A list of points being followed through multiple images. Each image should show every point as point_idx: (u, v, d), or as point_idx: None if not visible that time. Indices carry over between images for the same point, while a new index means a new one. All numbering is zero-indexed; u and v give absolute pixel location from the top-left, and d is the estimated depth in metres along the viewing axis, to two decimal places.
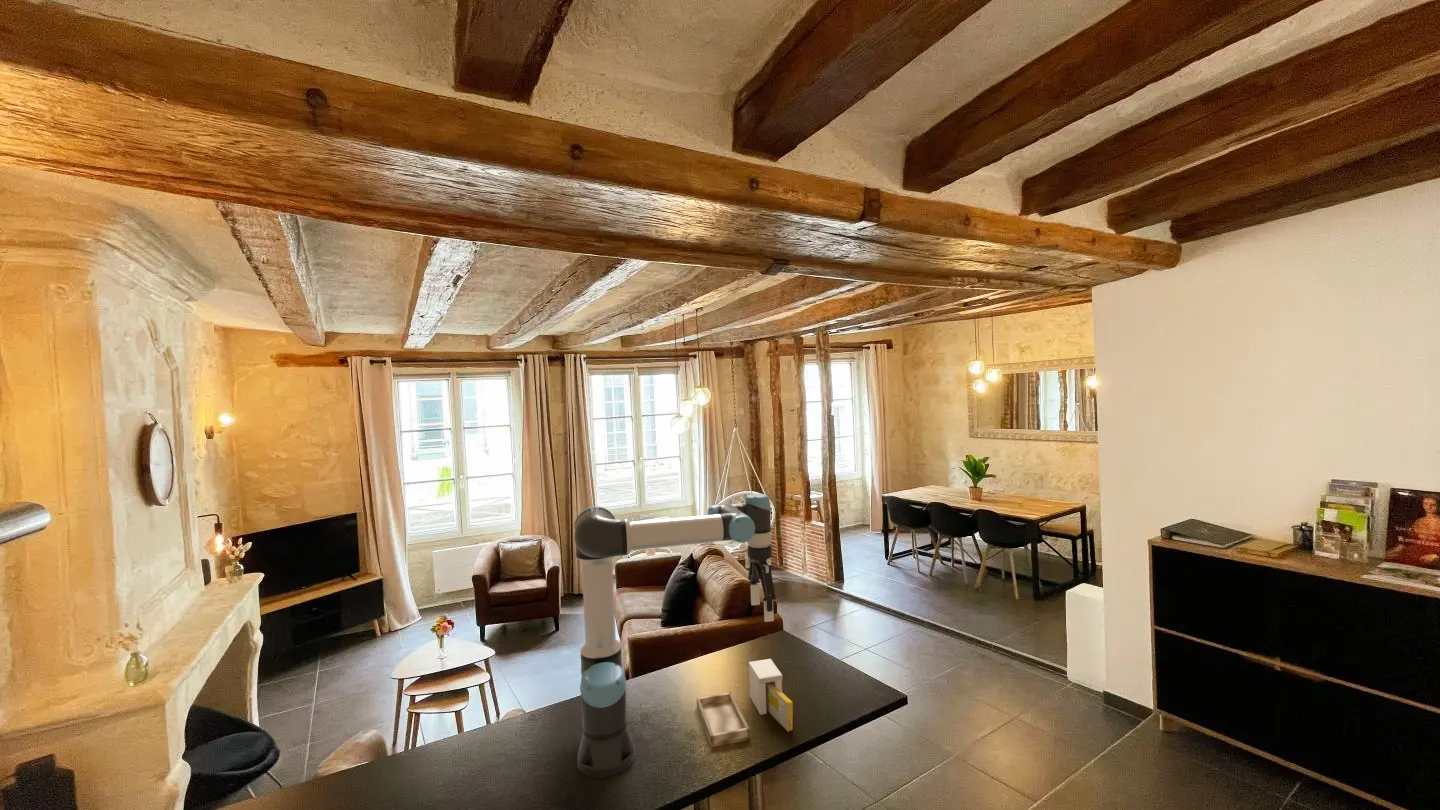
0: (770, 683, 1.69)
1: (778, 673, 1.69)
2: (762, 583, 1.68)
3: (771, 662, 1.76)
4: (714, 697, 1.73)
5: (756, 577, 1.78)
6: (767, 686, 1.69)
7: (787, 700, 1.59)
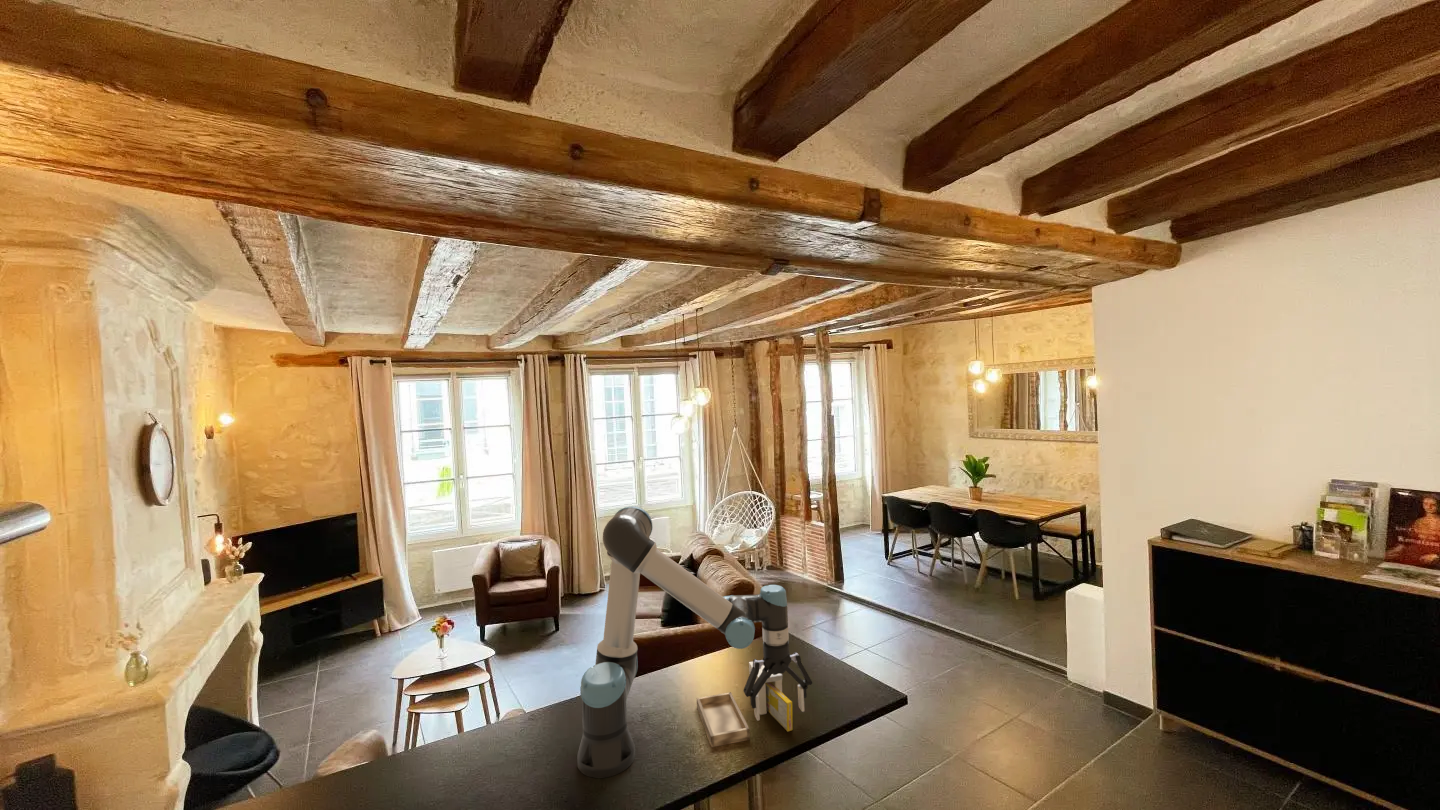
0: (770, 683, 1.69)
1: None
2: None
3: None
4: (714, 697, 1.73)
5: (794, 678, 1.62)
6: (767, 686, 1.69)
7: (787, 700, 1.59)
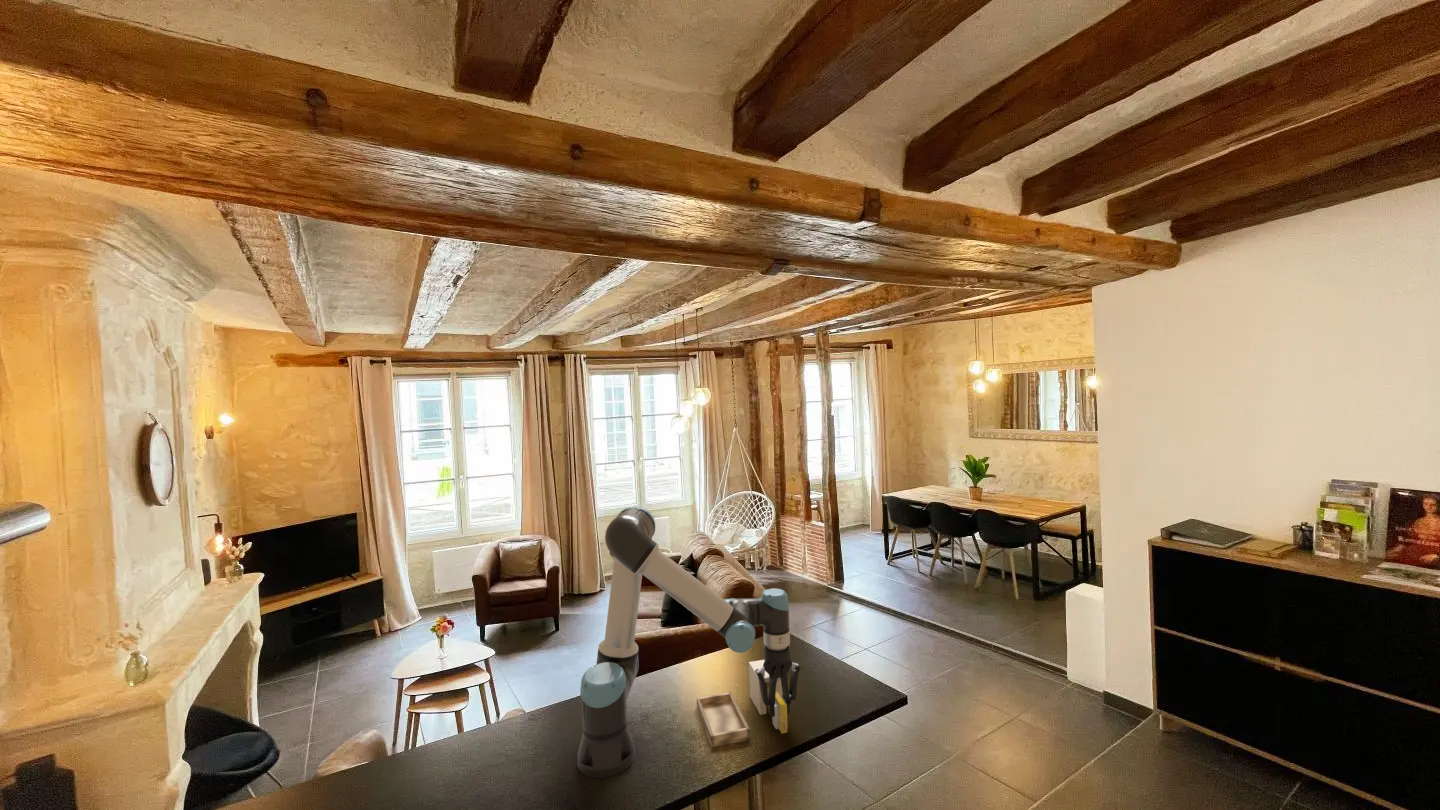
0: None
1: None
2: None
3: None
4: (714, 697, 1.73)
5: (783, 689, 1.61)
6: (766, 687, 1.68)
7: (781, 702, 1.58)
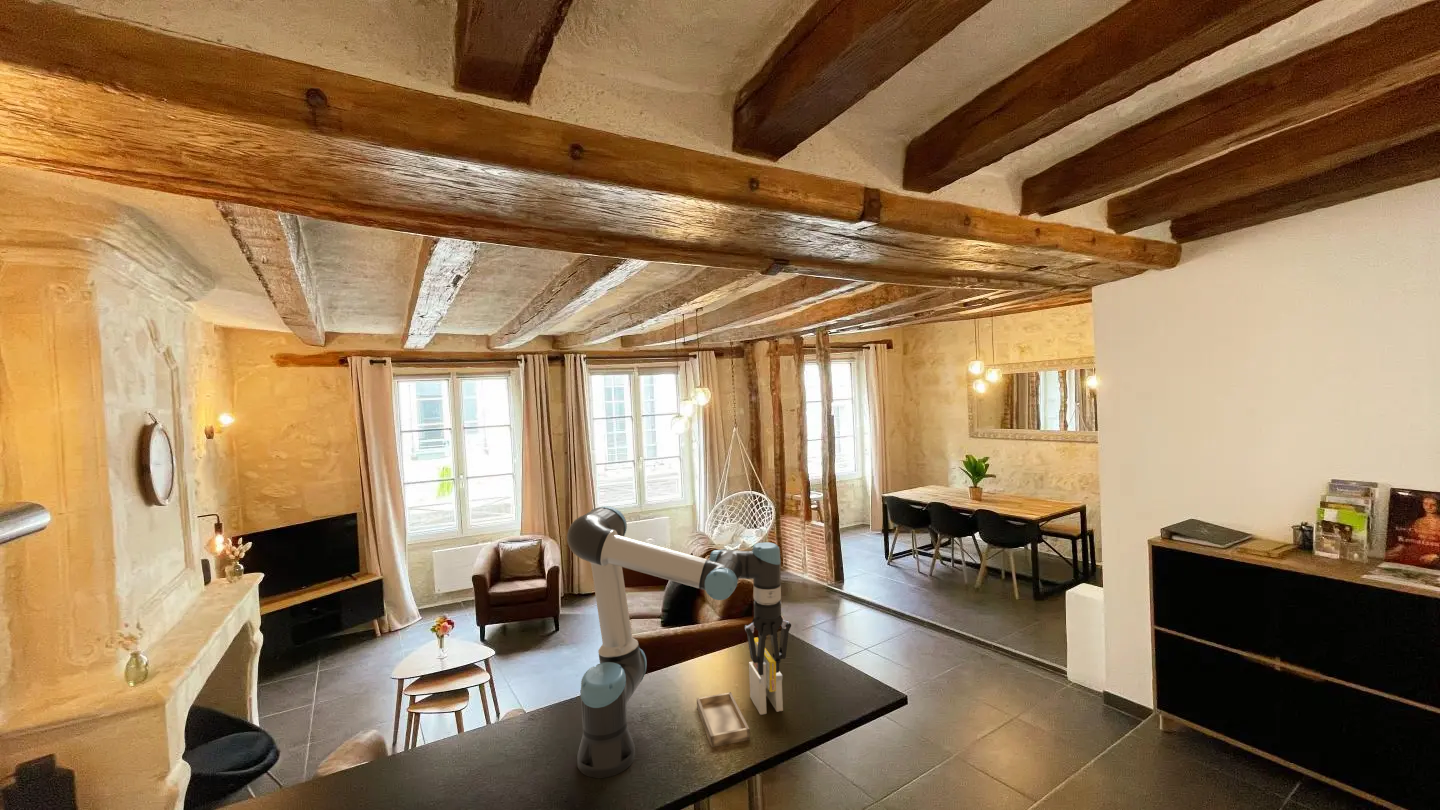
0: None
1: (778, 673, 1.69)
2: (758, 642, 1.55)
3: None
4: (714, 697, 1.73)
5: (773, 647, 1.54)
6: (756, 646, 1.62)
7: (770, 660, 1.52)
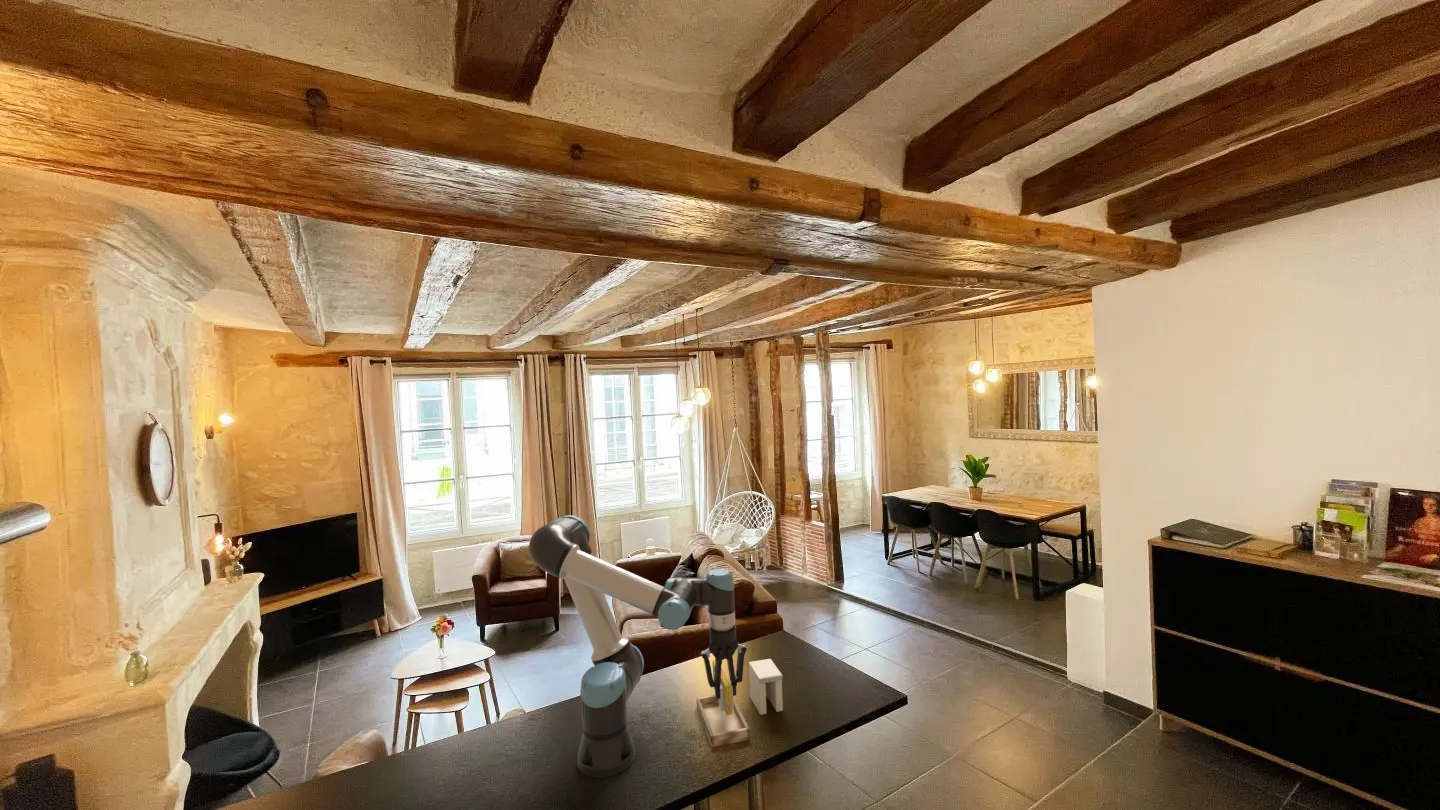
0: None
1: (778, 673, 1.69)
2: None
3: (771, 662, 1.76)
4: (714, 697, 1.73)
5: (729, 671, 1.58)
6: None
7: (726, 683, 1.56)
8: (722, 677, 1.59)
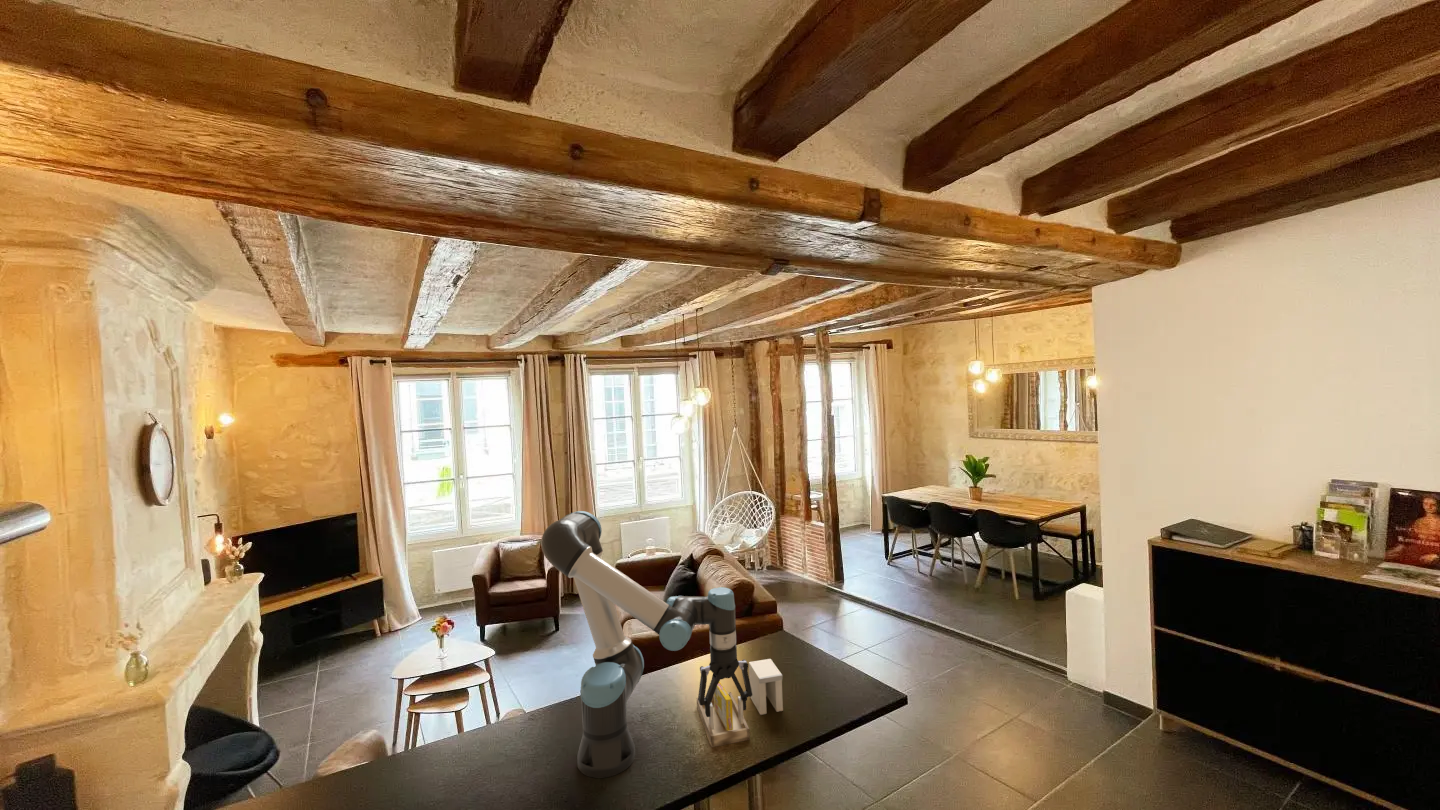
0: (719, 684, 1.67)
1: (778, 673, 1.69)
2: None
3: (771, 662, 1.76)
4: None
5: None
6: (716, 687, 1.67)
7: (727, 697, 1.57)
8: (723, 693, 1.60)
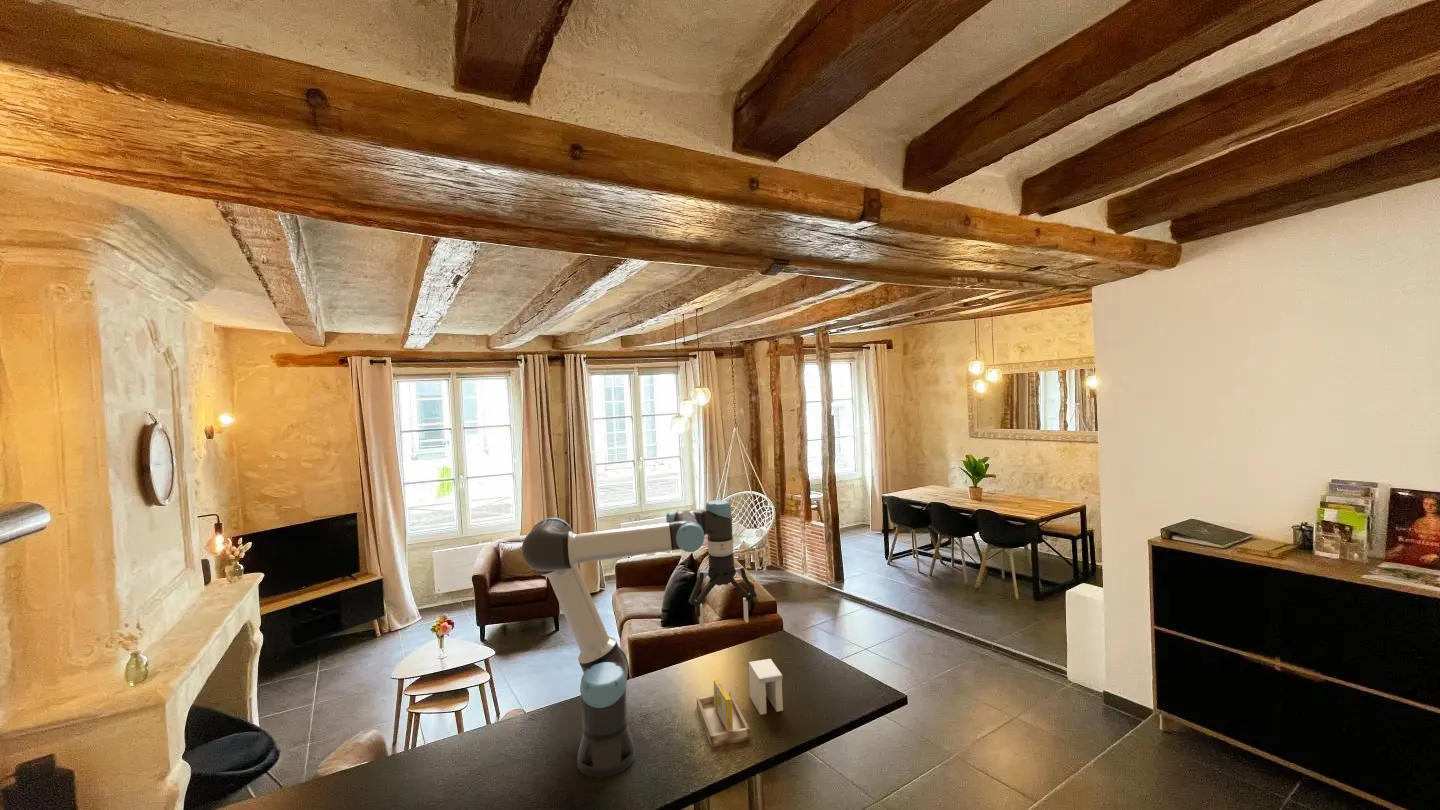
0: (719, 684, 1.67)
1: (778, 673, 1.69)
2: (704, 588, 1.67)
3: (771, 662, 1.76)
4: None
5: None
6: (716, 687, 1.67)
7: (727, 697, 1.57)
8: (723, 693, 1.60)
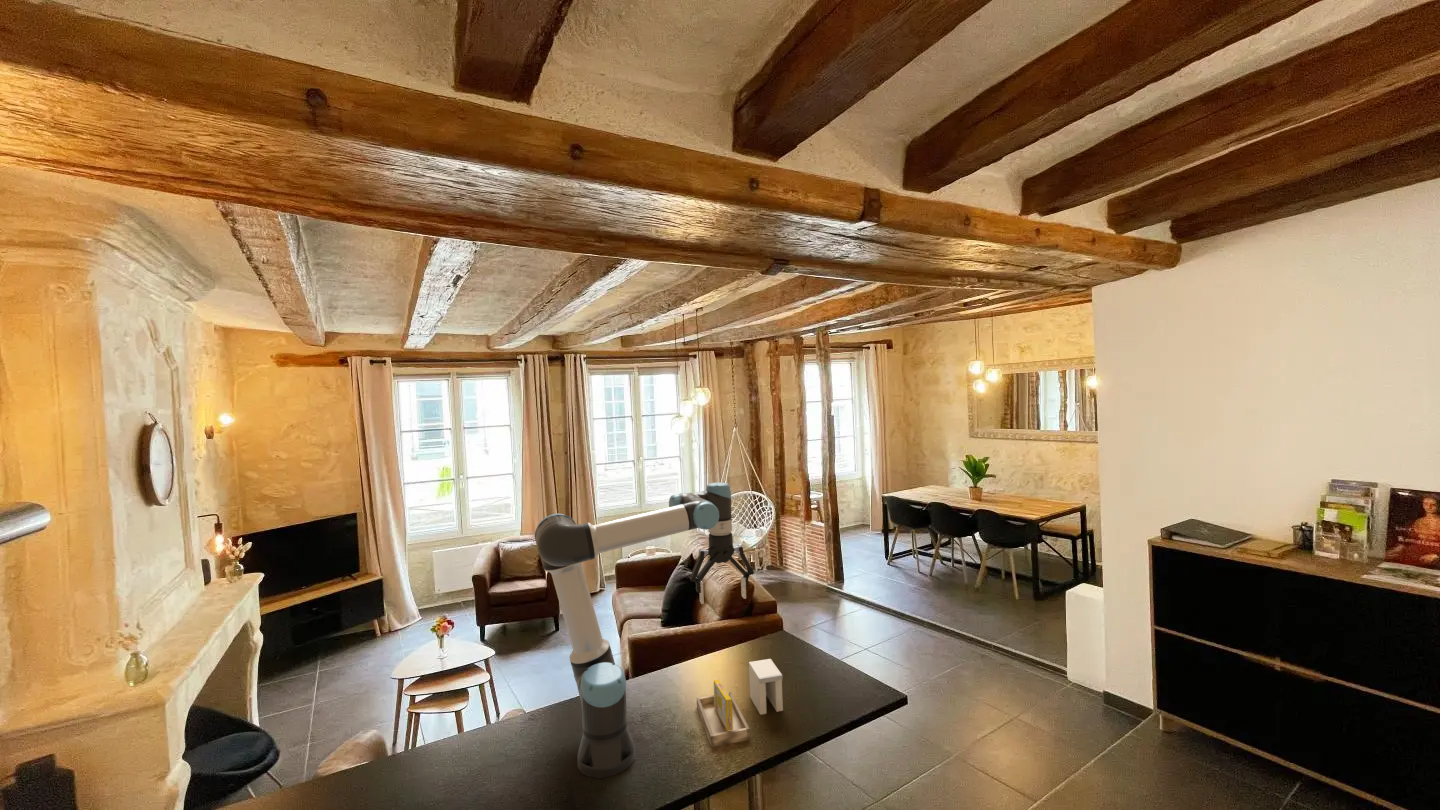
0: (719, 684, 1.67)
1: (778, 673, 1.69)
2: (704, 566, 1.75)
3: (771, 662, 1.76)
4: None
5: None
6: (716, 687, 1.67)
7: (727, 697, 1.57)
8: (723, 693, 1.60)
